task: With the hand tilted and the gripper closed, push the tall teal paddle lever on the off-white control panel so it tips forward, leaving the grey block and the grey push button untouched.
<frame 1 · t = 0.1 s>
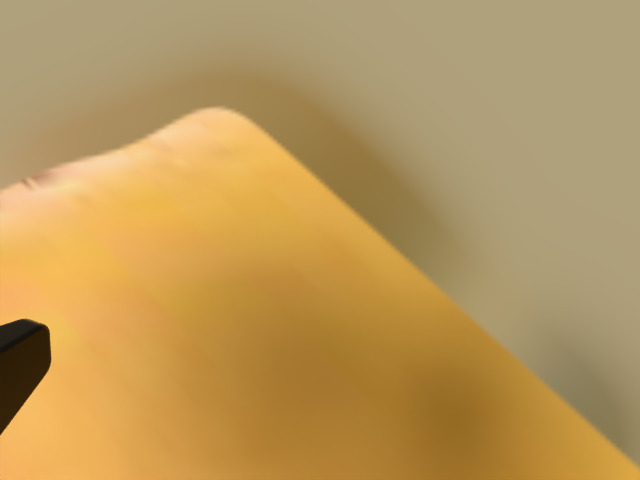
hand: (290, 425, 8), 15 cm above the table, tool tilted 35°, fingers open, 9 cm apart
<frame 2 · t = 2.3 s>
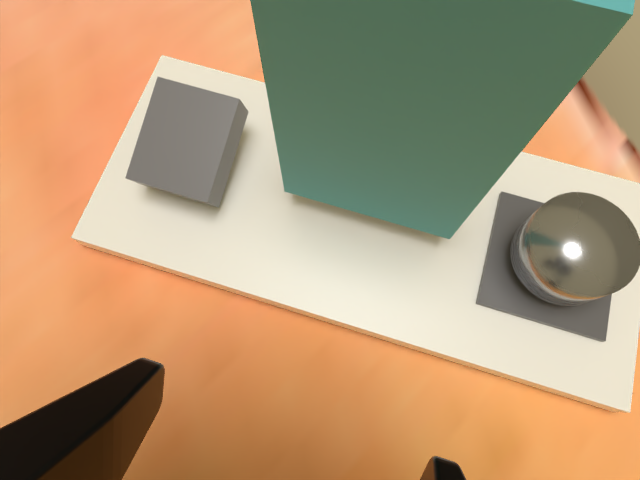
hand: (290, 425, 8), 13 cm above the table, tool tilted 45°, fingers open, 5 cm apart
paddle: (389, 125, 15), point 8 cm above the table, hinge at 0.0°
grey block: (189, 143, 20), point 3 cm above the table, hinge at -15.0°
panel: (365, 221, 23), on the table
button: (572, 250, 19), point 3 cm above the table, slide at 0.0 cm
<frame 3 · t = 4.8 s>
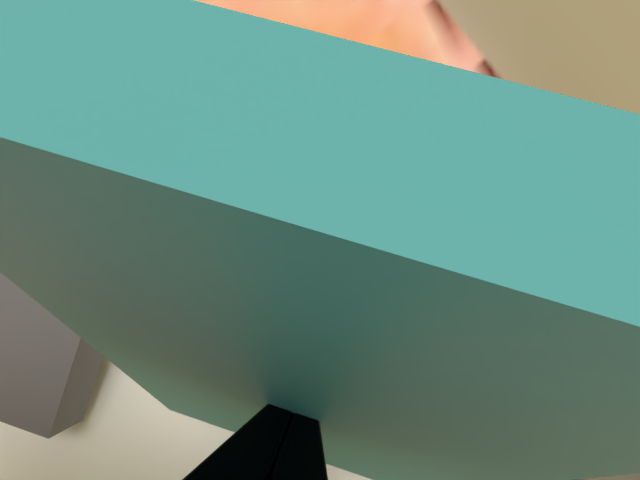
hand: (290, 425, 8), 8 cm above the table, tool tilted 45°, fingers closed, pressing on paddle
paddle: (304, 373, 8), point 8 cm above the table, hinge at 11.4°, touching gripper
grey block: (33, 334, 14), point 3 cm above the table, hinge at -15.0°
panel: (302, 419, 16), on the table
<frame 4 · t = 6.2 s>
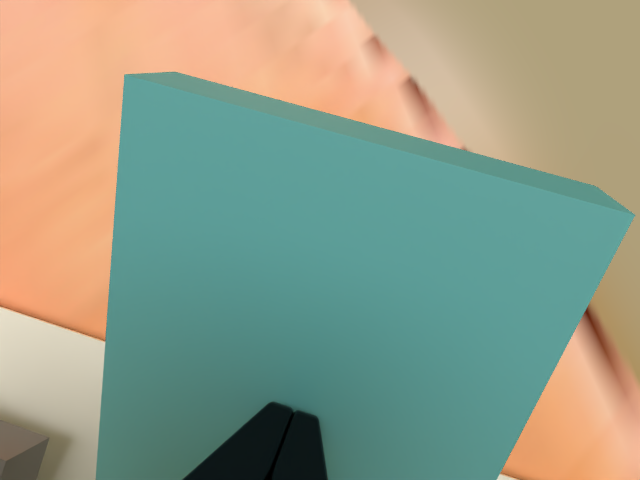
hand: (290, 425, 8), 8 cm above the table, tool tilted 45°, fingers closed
paddle: (285, 446, 10), point 6 cm above the table, hinge at 50.2°
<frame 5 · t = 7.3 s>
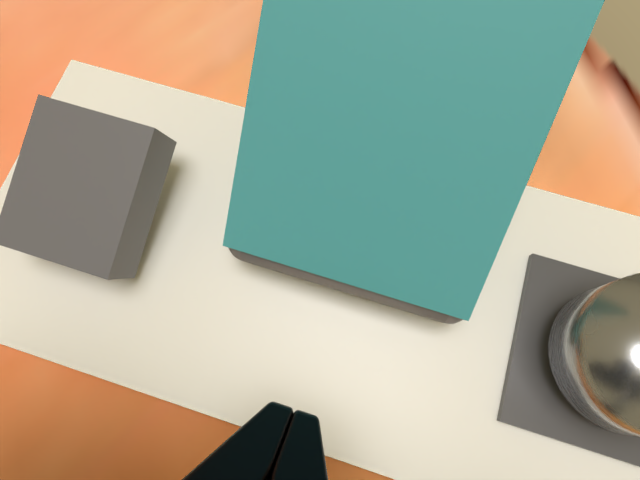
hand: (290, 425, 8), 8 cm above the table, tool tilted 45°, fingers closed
paddle: (405, 65, 12), point 6 cm above the table, hinge at 50.3°
grey block: (88, 189, 14), point 3 cm above the table, hinge at -15.0°
panel: (342, 289, 16), on the table
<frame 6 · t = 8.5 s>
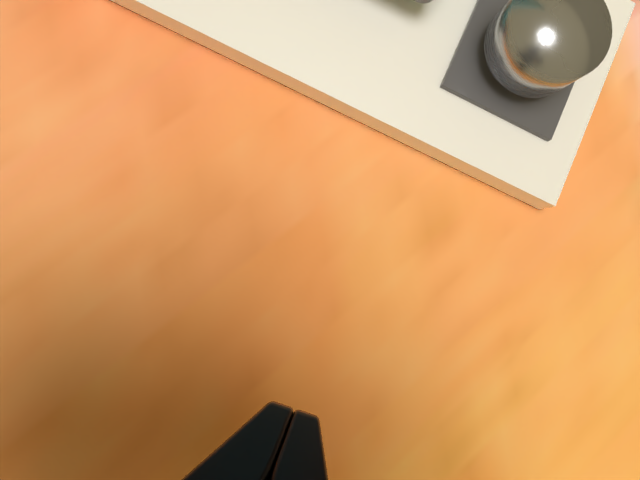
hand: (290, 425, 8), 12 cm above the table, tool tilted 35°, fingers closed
button: (545, 38, 19), point 3 cm above the table, slide at 0.0 cm
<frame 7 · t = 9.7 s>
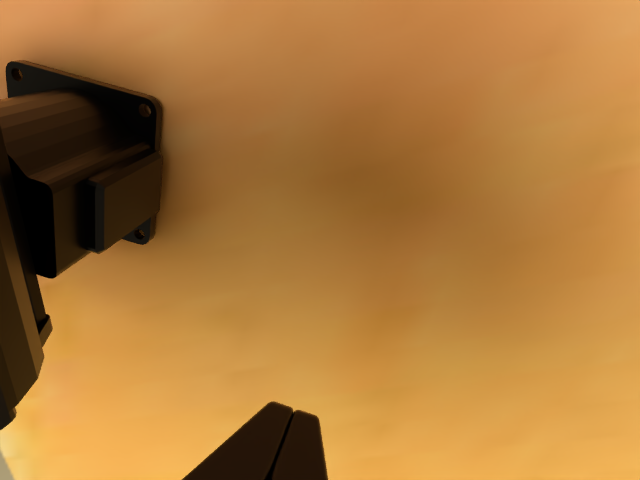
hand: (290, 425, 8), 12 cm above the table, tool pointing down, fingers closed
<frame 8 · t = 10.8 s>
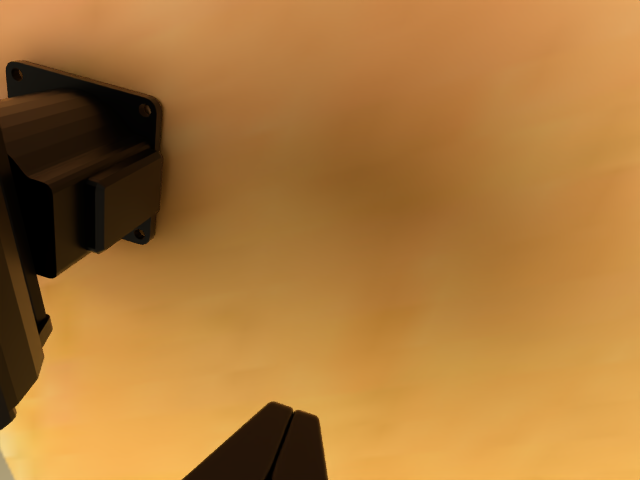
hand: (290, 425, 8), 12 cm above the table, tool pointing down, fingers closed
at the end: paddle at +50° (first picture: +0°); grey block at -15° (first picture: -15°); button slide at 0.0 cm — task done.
